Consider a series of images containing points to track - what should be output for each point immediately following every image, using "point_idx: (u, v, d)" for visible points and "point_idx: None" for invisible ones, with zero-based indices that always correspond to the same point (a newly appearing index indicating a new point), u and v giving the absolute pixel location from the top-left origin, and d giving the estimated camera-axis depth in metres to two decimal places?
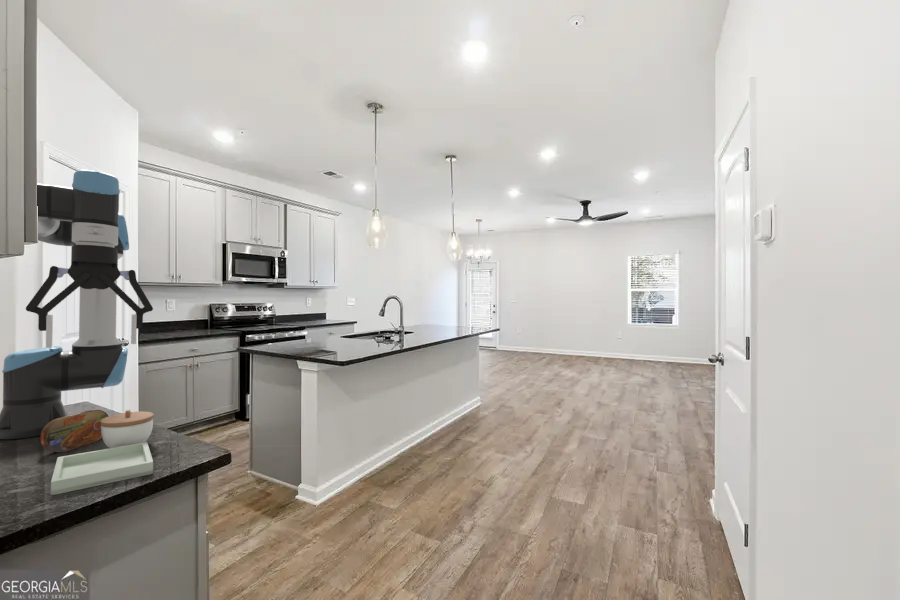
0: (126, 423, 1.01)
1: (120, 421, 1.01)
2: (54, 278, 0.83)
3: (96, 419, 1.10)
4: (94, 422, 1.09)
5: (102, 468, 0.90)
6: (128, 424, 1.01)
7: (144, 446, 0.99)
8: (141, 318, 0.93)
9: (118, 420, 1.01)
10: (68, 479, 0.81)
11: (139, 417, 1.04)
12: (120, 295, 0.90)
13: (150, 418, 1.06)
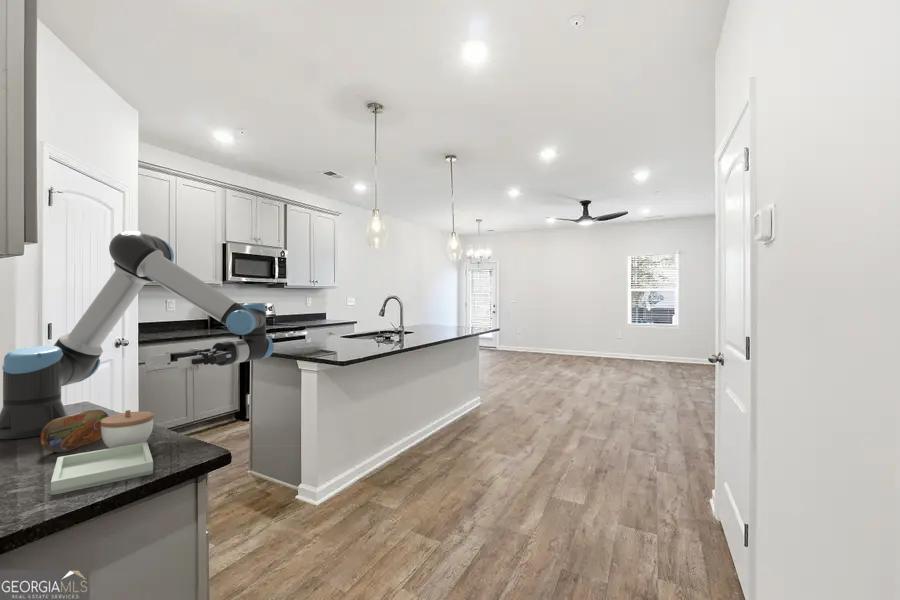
0: (126, 423, 1.01)
1: (120, 421, 1.01)
2: None
3: (96, 419, 1.10)
4: (94, 422, 1.09)
5: (102, 468, 0.90)
6: (128, 424, 1.01)
7: (144, 446, 0.99)
8: None
9: (118, 420, 1.01)
10: (68, 479, 0.81)
11: (139, 417, 1.04)
12: None
13: (150, 418, 1.06)
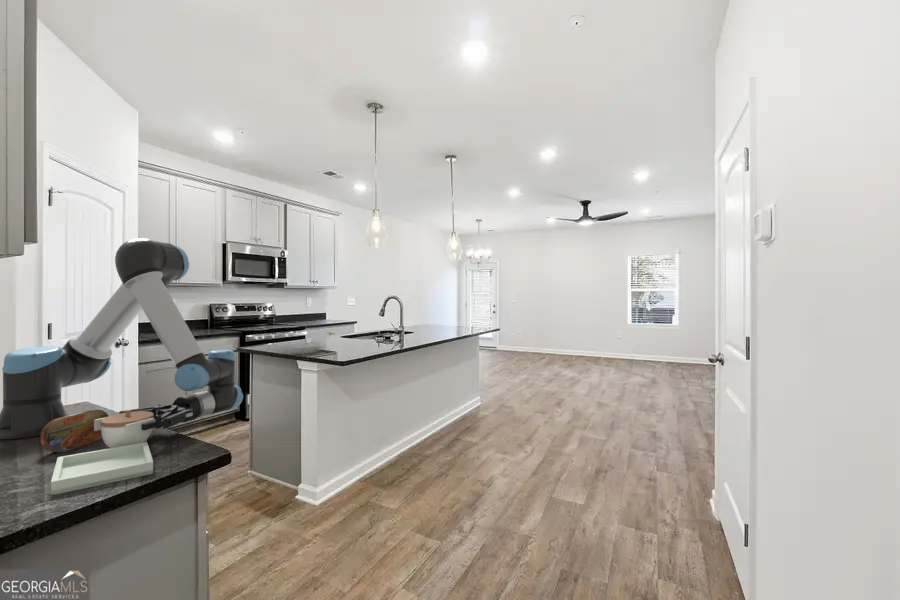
0: (126, 423, 1.01)
1: (120, 421, 1.01)
2: None
3: None
4: None
5: (102, 468, 0.90)
6: None
7: (144, 446, 0.99)
8: None
9: (118, 420, 1.01)
10: (68, 479, 0.81)
11: (139, 417, 1.04)
12: None
13: None
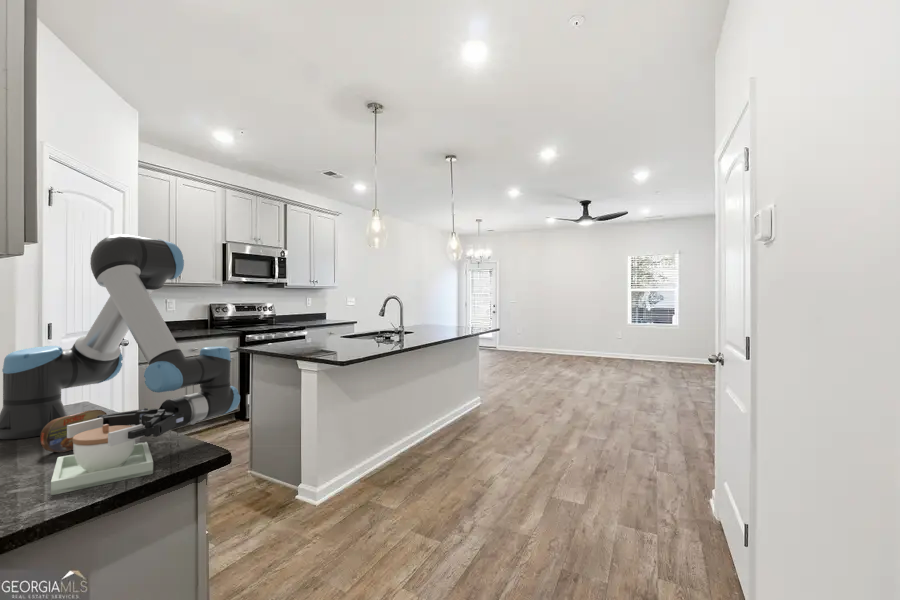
0: (103, 440, 0.86)
1: (96, 438, 0.86)
2: None
3: None
4: None
5: None
6: (106, 441, 0.86)
7: (144, 446, 0.99)
8: None
9: (94, 437, 0.87)
10: (68, 479, 0.81)
11: None
12: None
13: None
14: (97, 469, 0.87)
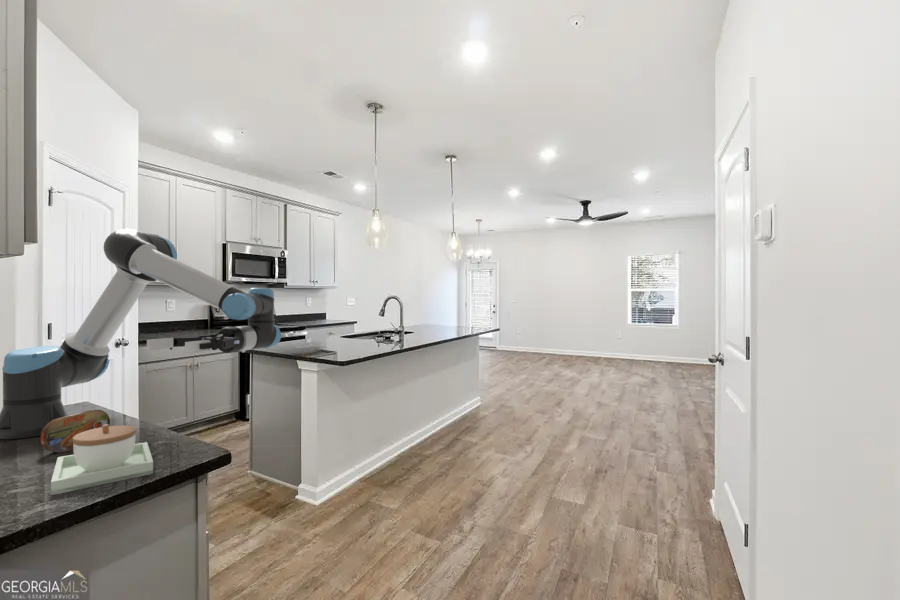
0: (103, 440, 0.86)
1: (96, 438, 0.86)
2: None
3: (96, 419, 1.10)
4: (94, 422, 1.09)
5: None
6: (106, 441, 0.86)
7: (144, 446, 0.99)
8: None
9: (94, 437, 0.87)
10: (68, 479, 0.81)
11: (119, 433, 0.90)
12: None
13: (132, 433, 0.91)
14: (97, 469, 0.87)
